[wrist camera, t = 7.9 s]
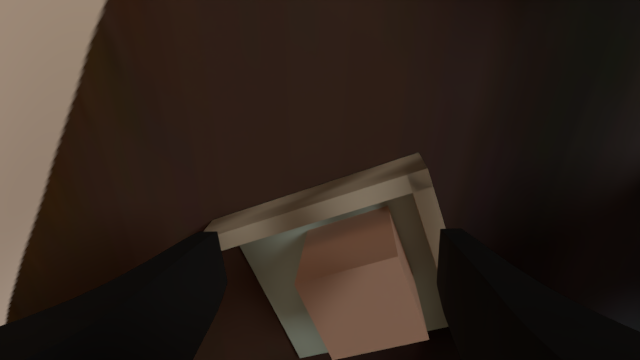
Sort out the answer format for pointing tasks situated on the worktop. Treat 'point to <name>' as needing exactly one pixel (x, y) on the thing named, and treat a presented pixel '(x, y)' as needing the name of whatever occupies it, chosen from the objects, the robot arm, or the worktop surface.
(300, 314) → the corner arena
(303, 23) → the worktop surface
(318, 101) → the worktop surface
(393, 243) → the terracotta cube
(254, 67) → the worktop surface
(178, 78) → the worktop surface
